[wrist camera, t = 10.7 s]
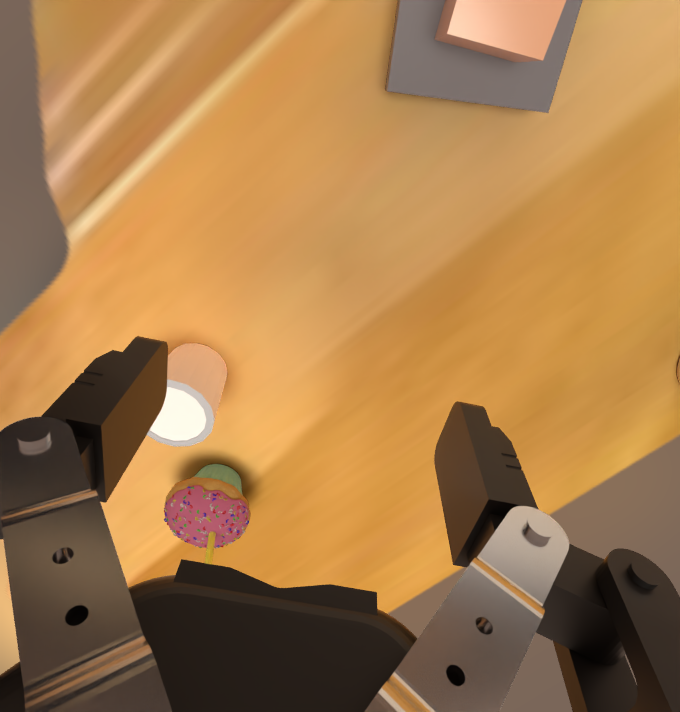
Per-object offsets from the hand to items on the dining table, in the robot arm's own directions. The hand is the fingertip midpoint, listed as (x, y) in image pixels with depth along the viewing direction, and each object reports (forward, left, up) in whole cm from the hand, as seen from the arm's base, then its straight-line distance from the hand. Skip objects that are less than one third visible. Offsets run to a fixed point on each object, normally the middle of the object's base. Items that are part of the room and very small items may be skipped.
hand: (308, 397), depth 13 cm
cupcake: (+7, +32, -26) cm, 42 cm away
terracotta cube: (-6, -13, -23) cm, 27 cm away
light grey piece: (+10, +18, -26) cm, 34 cm away
